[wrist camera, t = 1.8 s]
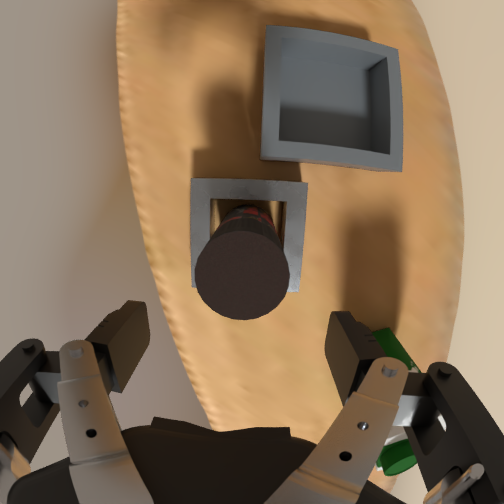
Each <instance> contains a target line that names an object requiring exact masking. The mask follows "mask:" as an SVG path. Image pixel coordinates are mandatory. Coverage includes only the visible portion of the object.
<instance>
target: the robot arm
mask: <svg viewBox="0 0 504 504" xmlns="http://www.w3.org/2000/svg"><path fill="white" fill-rule="evenodd" d="M149 341H150V329H149V323H148V316H147V308H146V304H145V302H141V301H131V300H128V301H127V302H126V303H125V304H124V305H123V306H122V307H121V308H120V309H119V310H116V311H114V312H112V313H110V314H108V315H107V316H106V317H105V318H104V319H103V321H102V322H101V323H100V324H99V325H98V326H97V327H96V328H95V329H94V330H93V331H92V332H91V333H90V334H89V335H88V337H87V338H86V339H85V340H73V341H70V342H67V343H66V344H64V345H63V346H62V347H61V348H60V351H45V348H44V345H43V343H42V341H40V340H38V339H27V340H24V341H22V342H20V343H19V344H17V346H16V347H14V348H13V349H12V350H11V351H10V352H9V353H8V354H7V355H6V356H5V358H3V360H1V362H0V504H406V503H404V502H402V501H401V500H399V499H397V498H396V497H394V496H392V495H391V494H389V493H387V492H386V491H384V490H383V489H381V488H380V487H378V486H376V485H375V484H373V483H372V482H370V481H369V480H367V479H368V477H369V475H370V473H371V472H372V470H373V468H374V466H375V464H376V461H377V459H378V457H379V455H380V453H381V451H382V449H383V446H384V444H385V442H386V440H387V437H388V435H389V432H390V430H391V427H392V425H393V426H403V428H404V430H405V433H406V435H407V437H408V440H409V442H410V445H411V448H412V450H413V453H414V455H415V458H416V460H417V463H418V466H419V469H420V471H421V474H422V477H423V480H424V482H425V485H426V488H427V491H428V493H427V494H426V496H425V498H424V501H423V504H504V435H503V433H502V432H501V430H500V429H499V427H498V426H497V424H496V423H495V421H494V419H493V418H492V417H491V415H490V414H489V412H488V411H487V409H486V408H485V406H484V405H483V403H482V402H481V401H480V399H479V398H478V397H477V395H476V394H475V392H474V391H473V390H472V388H471V387H470V386H469V384H468V383H467V381H466V380H465V379H464V378H463V376H462V375H461V374H460V372H459V371H458V370H457V369H456V368H455V367H454V366H452V365H450V364H448V363H445V362H435V363H432V364H431V365H430V366H429V368H428V370H427V372H426V373H416V372H409V371H408V368H407V366H406V365H405V364H404V363H403V362H401V361H400V360H398V359H395V358H391V357H387V355H386V354H385V352H384V350H383V349H382V347H381V346H380V344H379V343H378V341H376V338H375V337H374V336H373V334H372V332H371V331H370V330H369V328H368V327H367V326H365V325H364V324H362V323H361V322H356V321H355V319H354V318H353V316H352V315H351V313H350V312H349V311H332V312H331V315H330V319H329V324H328V330H327V335H326V340H325V356H326V359H327V361H328V364H329V367H330V370H331V373H332V375H333V378H334V381H335V384H336V387H337V390H338V393H339V396H340V399H341V401H342V404H343V409H342V410H341V412H340V413H339V415H338V416H337V418H336V419H335V421H334V422H333V424H332V425H331V427H330V428H329V430H328V431H327V432H326V434H325V435H324V437H323V438H322V439H321V441H320V442H319V443H318V445H317V444H315V443H313V442H310V441H307V440H304V439H301V438H297V437H292V436H291V434H290V427H254V428H247V429H241V430H233V431H225V432H217V431H214V430H210V429H206V428H204V427H200V426H197V425H194V424H191V423H188V422H185V421H178V420H171V419H165V418H160V417H154V418H153V421H152V423H151V425H145V426H137V427H132V428H129V429H125V430H123V431H122V429H121V426H120V424H119V421H118V419H117V416H116V414H115V411H114V408H113V406H112V403H111V400H110V397H109V394H110V392H111V391H114V392H118V393H122V392H123V390H124V388H125V386H126V384H127V383H128V381H129V379H130V377H131V375H132V374H133V372H134V370H135V368H136V367H137V365H138V363H139V361H140V359H141V358H142V356H143V354H144V352H145V350H146V349H147V347H148V345H149ZM28 383H29V385H30V387H31V389H32V391H33V393H32V394H31V395H30V397H29V398H28V399H27V401H26V402H25V404H24V405H23V406H22V407H21V405H20V401H19V397H20V394H21V392H22V391H23V389H24V388H25V387H26V385H27V384H28ZM59 411H61V418H62V423H63V429H64V434H65V439H66V444H67V448H68V452H69V457H67V458H65V459H63V460H61V461H58V462H56V463H54V464H51V465H49V466H46V467H44V468H42V469H39V470H36V471H34V472H31V473H30V471H31V469H30V463H31V461H32V459H33V457H34V455H35V453H36V452H37V450H38V448H39V446H40V444H41V442H42V440H43V439H44V437H45V435H46V433H47V432H48V430H49V428H50V426H51V425H52V423H53V421H54V419H55V418H56V416H57V414H58V413H59ZM440 414H441V415H442V417H443V419H444V421H445V423H446V432H445V430H444V428H443V426H442V425H441V423H440V421H439V419H438V417H439V415H440Z"/></svg>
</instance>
